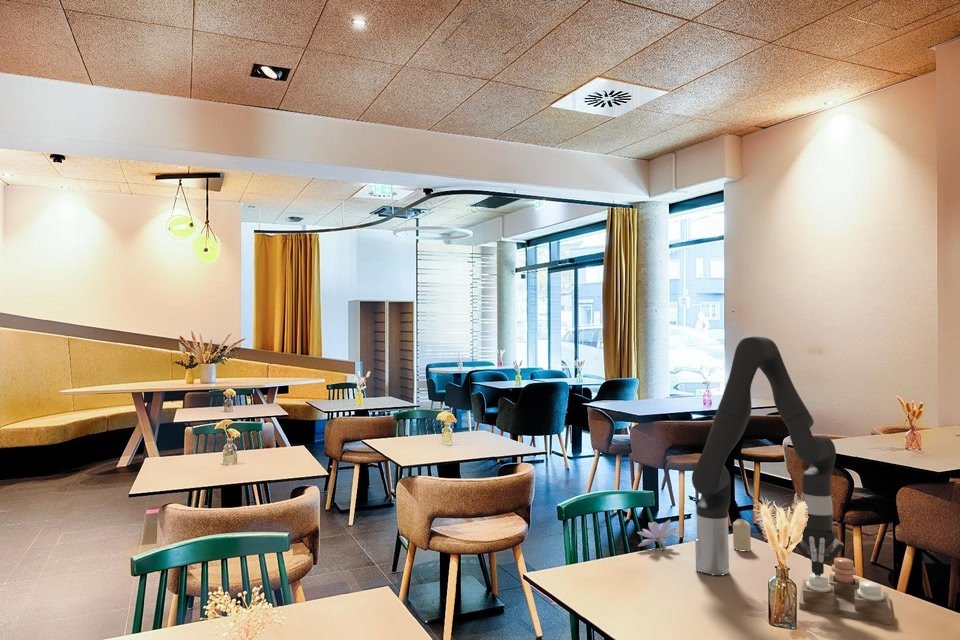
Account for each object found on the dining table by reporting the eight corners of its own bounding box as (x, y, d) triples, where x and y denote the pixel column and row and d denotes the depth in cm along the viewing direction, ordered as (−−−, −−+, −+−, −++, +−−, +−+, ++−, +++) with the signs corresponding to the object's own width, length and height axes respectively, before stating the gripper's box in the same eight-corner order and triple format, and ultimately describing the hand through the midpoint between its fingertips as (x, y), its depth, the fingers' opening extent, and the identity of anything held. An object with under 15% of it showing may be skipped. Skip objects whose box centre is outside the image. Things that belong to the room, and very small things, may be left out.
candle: (752, 552, 216) (751, 522, 216) (735, 551, 217) (734, 521, 217) (748, 547, 221) (748, 518, 222) (732, 546, 222) (731, 517, 223)
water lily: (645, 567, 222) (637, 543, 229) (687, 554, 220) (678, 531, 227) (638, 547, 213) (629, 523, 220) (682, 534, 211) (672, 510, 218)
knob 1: (805, 600, 172) (805, 578, 172) (807, 592, 177) (806, 571, 178) (831, 604, 169) (830, 582, 169) (831, 596, 174) (831, 575, 175)
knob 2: (857, 609, 166) (857, 586, 166) (857, 600, 171) (856, 579, 172) (885, 614, 163) (884, 590, 163) (883, 605, 168) (883, 583, 169)
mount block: (799, 608, 171) (798, 591, 171) (803, 584, 188) (802, 568, 188) (892, 625, 161) (892, 606, 161) (888, 598, 177) (887, 581, 177)
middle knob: (831, 583, 178) (831, 561, 178) (832, 576, 183) (831, 555, 183) (856, 587, 175) (856, 565, 175) (856, 579, 180) (855, 558, 180)
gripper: (788, 510, 174) (789, 575, 174) (844, 516, 167) (846, 584, 167) (790, 504, 181) (791, 566, 180) (844, 510, 174) (846, 574, 173)
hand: (817, 574), depth 173 cm, fingers closed
